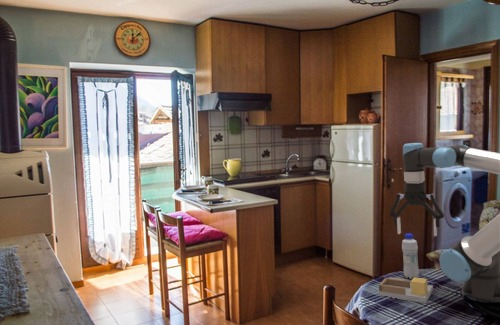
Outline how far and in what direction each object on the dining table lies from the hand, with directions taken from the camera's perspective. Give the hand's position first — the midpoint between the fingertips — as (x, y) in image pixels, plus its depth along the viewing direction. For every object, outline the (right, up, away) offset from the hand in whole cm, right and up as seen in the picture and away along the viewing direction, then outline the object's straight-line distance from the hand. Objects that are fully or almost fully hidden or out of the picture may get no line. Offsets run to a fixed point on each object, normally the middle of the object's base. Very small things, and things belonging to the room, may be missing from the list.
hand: (417, 234), depth 159 cm
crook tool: (-5, -22, +7) cm, 24 cm away
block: (-1, -22, -4) cm, 22 cm away
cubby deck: (-4, -24, +2) cm, 24 cm away
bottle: (+5, -23, +18) cm, 30 cm away
